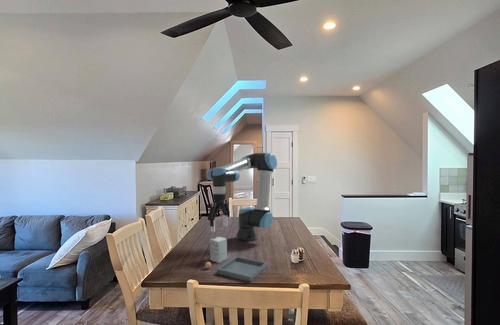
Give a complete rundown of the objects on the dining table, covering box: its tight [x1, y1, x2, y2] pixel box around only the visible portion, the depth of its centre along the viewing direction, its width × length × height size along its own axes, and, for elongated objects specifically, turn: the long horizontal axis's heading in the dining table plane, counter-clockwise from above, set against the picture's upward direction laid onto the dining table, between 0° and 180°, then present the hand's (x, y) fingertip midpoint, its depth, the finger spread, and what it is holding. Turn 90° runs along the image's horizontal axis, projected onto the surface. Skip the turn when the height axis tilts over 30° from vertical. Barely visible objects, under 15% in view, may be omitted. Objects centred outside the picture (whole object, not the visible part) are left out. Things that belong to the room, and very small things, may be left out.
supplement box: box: [209, 236, 228, 264], centre depth 158 cm, size 7×7×13 cm
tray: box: [216, 255, 268, 283], centre depth 144 cm, size 20×20×2 cm
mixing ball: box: [204, 261, 212, 270], centre depth 146 cm, size 4×4×4 cm
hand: (219, 228), depth 158 cm, fingers open, 13 cm apart
